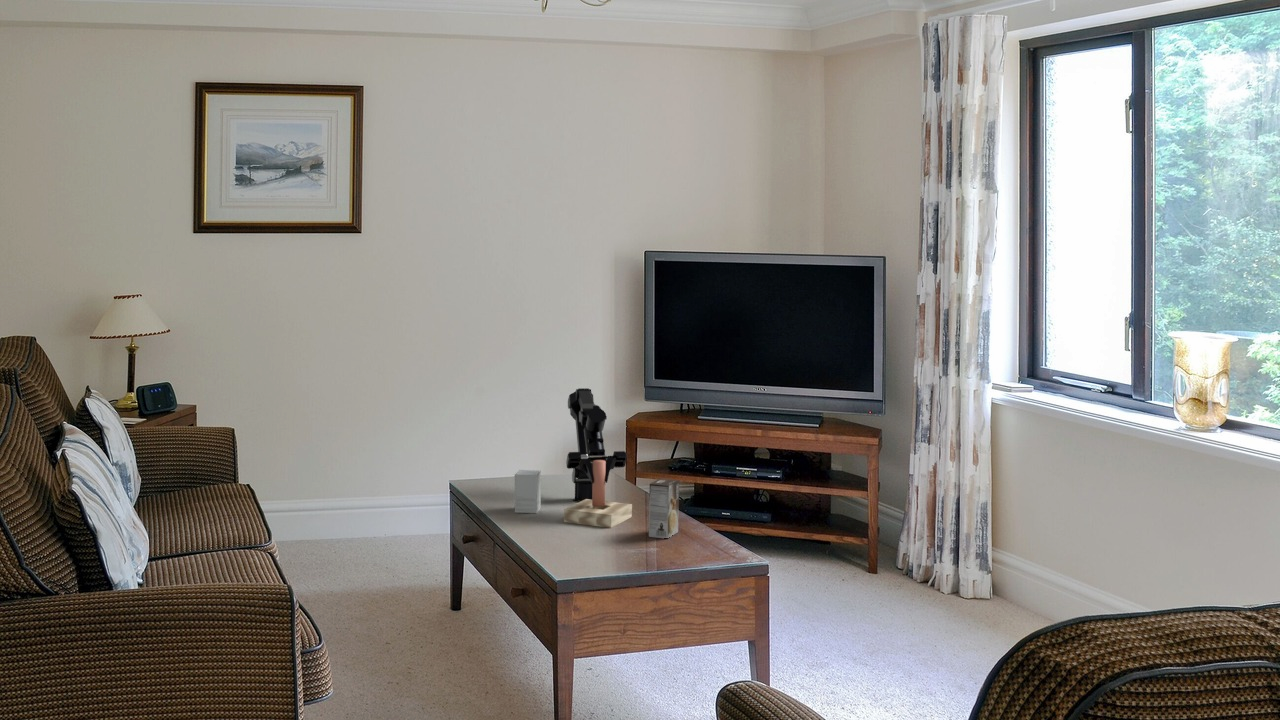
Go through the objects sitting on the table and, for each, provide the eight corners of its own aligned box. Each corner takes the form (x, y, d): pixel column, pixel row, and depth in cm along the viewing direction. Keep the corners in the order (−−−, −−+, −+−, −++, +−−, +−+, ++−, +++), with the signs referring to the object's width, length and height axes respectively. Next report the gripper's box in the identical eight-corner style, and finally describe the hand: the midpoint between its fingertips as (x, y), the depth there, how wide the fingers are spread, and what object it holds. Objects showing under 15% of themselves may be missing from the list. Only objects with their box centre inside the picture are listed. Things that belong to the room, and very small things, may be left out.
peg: (589, 505, 341) (590, 461, 340) (598, 503, 344) (598, 459, 343) (599, 507, 338) (599, 462, 337) (607, 505, 342) (608, 461, 340)
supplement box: (541, 508, 354) (541, 470, 353) (536, 513, 347) (537, 474, 346) (518, 507, 355) (519, 469, 354) (513, 512, 348) (514, 473, 347)
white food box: (658, 529, 330) (660, 477, 329) (678, 532, 328) (680, 479, 326) (647, 537, 322) (649, 483, 320) (668, 539, 319) (669, 485, 318)
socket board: (563, 521, 337) (564, 509, 337) (586, 511, 352) (586, 498, 352) (611, 527, 331) (611, 515, 331) (631, 516, 346) (632, 504, 346)
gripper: (618, 454, 357) (625, 495, 347) (562, 455, 353) (566, 497, 343) (624, 435, 348) (630, 476, 339) (566, 435, 344) (571, 477, 335)
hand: (599, 482), depth 339 cm, fingers closed on peg, 4 cm apart
